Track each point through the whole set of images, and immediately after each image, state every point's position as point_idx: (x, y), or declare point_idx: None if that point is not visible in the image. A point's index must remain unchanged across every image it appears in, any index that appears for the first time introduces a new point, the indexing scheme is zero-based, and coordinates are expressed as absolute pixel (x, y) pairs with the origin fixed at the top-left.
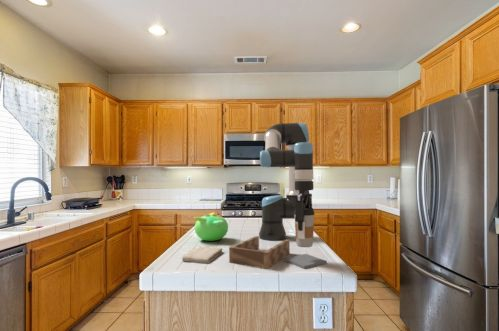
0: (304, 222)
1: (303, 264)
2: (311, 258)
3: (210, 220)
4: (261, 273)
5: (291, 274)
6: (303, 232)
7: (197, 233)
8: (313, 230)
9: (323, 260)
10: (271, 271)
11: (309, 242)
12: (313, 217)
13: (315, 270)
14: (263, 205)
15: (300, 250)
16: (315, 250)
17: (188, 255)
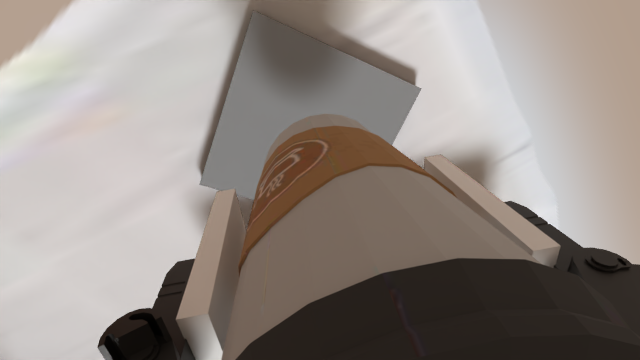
0: (536, 245)
1: (397, 103)
2: (268, 115)
3: None
4: (536, 201)
5: (511, 99)
6: (473, 185)
7: None
8: (324, 147)
9: (260, 32)
10: (503, 185)
11: (364, 127)
12: (406, 231)
13: (411, 20)
14: None
15: (122, 250)
16: (41, 188)
17: None
